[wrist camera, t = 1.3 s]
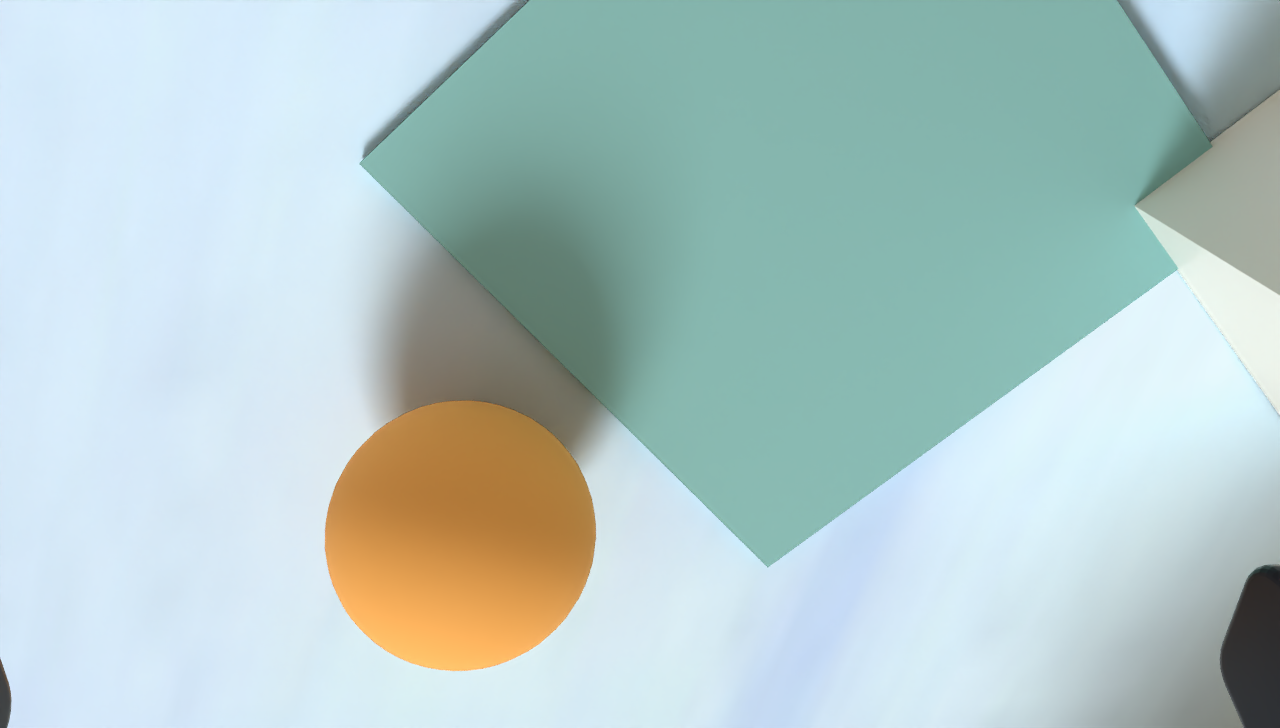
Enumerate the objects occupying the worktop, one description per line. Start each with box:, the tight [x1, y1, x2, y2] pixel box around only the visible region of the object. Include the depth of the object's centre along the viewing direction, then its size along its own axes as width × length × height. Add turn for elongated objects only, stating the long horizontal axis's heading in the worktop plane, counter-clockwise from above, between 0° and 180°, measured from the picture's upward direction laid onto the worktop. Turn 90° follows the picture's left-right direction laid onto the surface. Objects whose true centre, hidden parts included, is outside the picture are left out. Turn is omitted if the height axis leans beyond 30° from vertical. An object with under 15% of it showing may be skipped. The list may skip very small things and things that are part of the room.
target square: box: [360, 0, 1213, 567], centre depth 20 cm, size 12×12×1 cm
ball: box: [325, 400, 596, 671], centre depth 20 cm, size 5×5×5 cm
